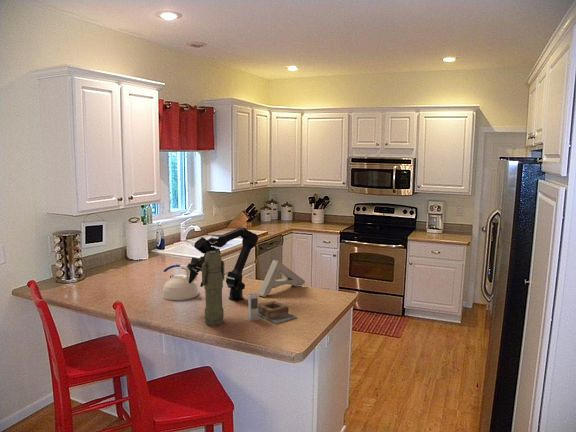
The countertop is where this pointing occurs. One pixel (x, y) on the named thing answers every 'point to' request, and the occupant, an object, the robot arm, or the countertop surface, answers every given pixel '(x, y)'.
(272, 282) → the wall bracket
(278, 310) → the slotted post block
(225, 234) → the robot arm
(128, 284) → the countertop surface
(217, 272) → the olive cylinder
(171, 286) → the kettle
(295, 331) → the countertop surface
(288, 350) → the countertop surface
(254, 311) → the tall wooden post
